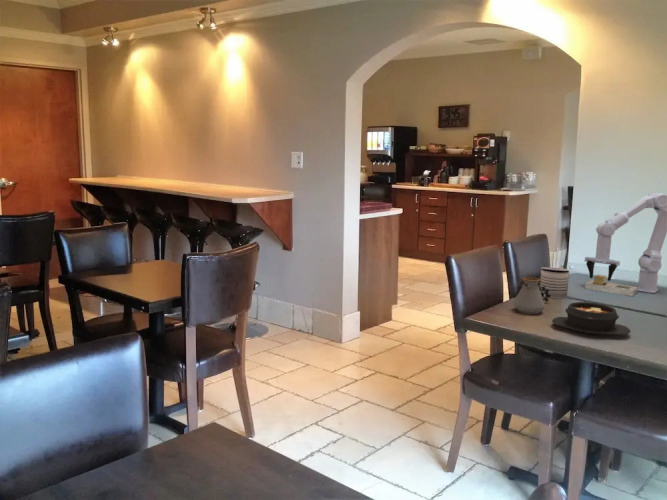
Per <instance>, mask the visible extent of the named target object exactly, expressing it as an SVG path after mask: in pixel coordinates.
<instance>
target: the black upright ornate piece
mask: <svg viewBox="0 0 667 500" xmlns="http://www.w3.org/2000/svg"><path fill="white" fill-rule="evenodd" d="M538 287H539V289H540V292H541V291H545V292H546V293H544V292H541V295H542V298H543V301H544V302H546V303H547V302H549V299H548V298H549V297H551V295H550V294H548V292H549V289H547V290H545V287H542V289H541V288H540V286H538ZM545 294H546V297H545Z"/></svg>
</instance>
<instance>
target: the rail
mask: <svg viewBox="0 0 667 500" xmlns="http://www.w3.org/2000/svg"><path fill="white" fill-rule="evenodd" d="M584 289H586V290H591V291H597V292H605V293H608V294H609V293H611V294H616V295H622V296H629V297H634V296H635V295H637V294H638V292H639V291H638V286H633V285H632V286H631V285H625V284H619V283H613V282H608V281H606V284H605V285H599V284H594V279H591V280H589V281H586V282H585V283H584Z"/></svg>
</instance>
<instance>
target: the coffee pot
mask: <svg viewBox="0 0 667 500" xmlns="http://www.w3.org/2000/svg"><path fill="white" fill-rule="evenodd" d="M540 279H541V278H538V277H532V276H524V277H521V280H519V282H518V285H519V286H521V288H520V290H519V292H518V294H517V295H516V297H515V300H514V301H513V305H514V308H515V309H517V310H518V312H519V313H521V314H524V315H525V314H526V315H538V314H539V313H540V312H542V311H544V309H545V307H546V303H545V300H544V301H543V298H544V297H542V295H541V292H540V289H539V287H540V286H539V284H540ZM520 282H521V284H522V285H521V284H520Z"/></svg>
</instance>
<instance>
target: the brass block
mask: <svg viewBox="0 0 667 500" xmlns="http://www.w3.org/2000/svg"><path fill="white" fill-rule="evenodd" d="M593 280H594V284H599V285H605V284H606V282H607V276H606V275H601V274H595V275H593Z"/></svg>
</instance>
